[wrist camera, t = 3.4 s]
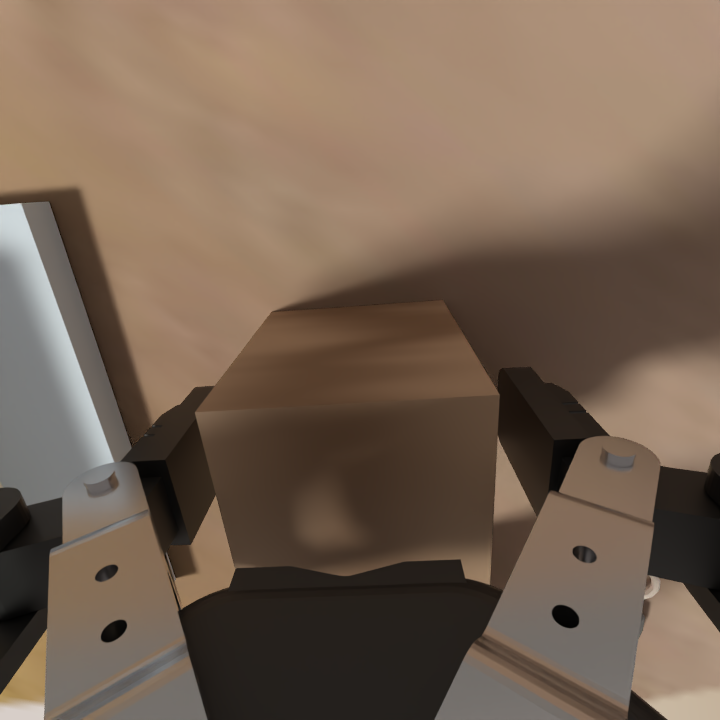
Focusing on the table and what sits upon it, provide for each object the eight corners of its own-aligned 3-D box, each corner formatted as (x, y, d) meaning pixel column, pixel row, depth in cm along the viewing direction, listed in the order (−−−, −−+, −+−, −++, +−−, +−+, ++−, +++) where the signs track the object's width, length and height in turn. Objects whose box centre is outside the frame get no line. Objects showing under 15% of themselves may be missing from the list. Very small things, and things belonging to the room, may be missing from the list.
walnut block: (442, 299, 12) (499, 394, 7) (443, 445, 14) (488, 612, 9) (272, 311, 13) (194, 412, 7) (295, 453, 15) (247, 620, 9)
